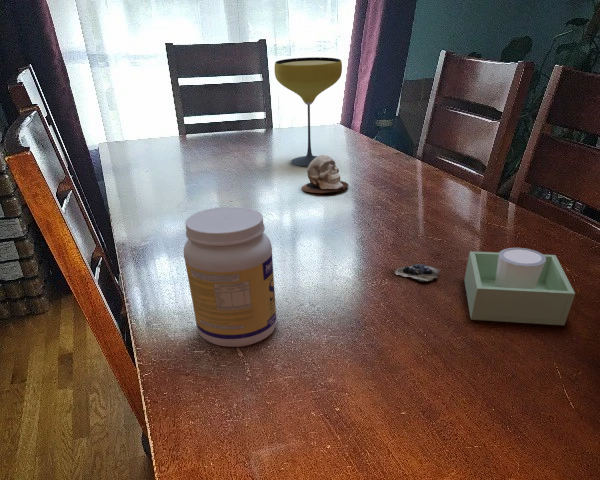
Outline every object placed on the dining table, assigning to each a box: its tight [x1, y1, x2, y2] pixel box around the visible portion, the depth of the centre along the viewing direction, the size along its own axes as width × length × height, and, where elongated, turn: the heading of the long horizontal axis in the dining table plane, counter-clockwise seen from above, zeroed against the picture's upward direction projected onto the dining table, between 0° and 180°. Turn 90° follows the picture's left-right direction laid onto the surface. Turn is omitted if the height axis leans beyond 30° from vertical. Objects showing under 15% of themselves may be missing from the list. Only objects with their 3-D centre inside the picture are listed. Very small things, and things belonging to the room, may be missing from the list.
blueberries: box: [394, 263, 441, 283], centre depth 90 cm, size 7×8×2 cm
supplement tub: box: [183, 205, 278, 348], centre depth 73 cm, size 12×12×17 cm
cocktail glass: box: [273, 56, 343, 168], centre depth 143 cm, size 18×18×25 cm
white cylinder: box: [495, 247, 546, 289], centre depth 80 cm, size 7×7×7 cm
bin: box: [464, 251, 576, 326], centre depth 81 cm, size 14×14×5 cm
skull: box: [301, 154, 349, 194], centre depth 130 cm, size 12×10×10 cm
